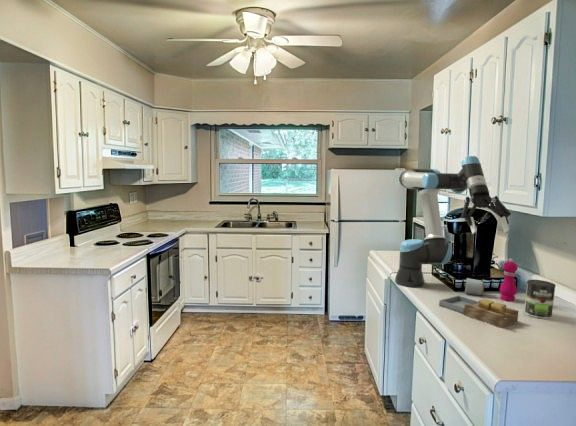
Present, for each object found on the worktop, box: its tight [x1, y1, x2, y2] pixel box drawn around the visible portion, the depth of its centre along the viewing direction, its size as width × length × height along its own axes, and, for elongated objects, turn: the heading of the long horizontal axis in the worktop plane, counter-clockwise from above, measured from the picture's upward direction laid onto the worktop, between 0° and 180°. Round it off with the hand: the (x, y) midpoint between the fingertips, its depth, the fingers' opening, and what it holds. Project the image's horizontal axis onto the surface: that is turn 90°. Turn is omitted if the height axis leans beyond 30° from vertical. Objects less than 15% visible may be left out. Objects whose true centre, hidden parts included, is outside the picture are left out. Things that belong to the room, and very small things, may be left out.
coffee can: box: [524, 279, 556, 320], centre depth 173 cm, size 10×10×14 cm
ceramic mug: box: [464, 277, 485, 296], centre depth 201 cm, size 11×8×8 cm
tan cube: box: [478, 298, 495, 311], centre depth 169 cm, size 4×4×4 cm
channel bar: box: [463, 299, 519, 329], centre depth 167 cm, size 16×12×5 cm
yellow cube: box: [491, 301, 507, 315], centre depth 164 cm, size 4×4×4 cm
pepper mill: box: [499, 258, 518, 302], centre depth 192 cm, size 7×7×20 cm
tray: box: [438, 295, 479, 315], centre depth 181 cm, size 12×14×2 cm
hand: (490, 232), depth 166 cm, fingers open, 13 cm apart
